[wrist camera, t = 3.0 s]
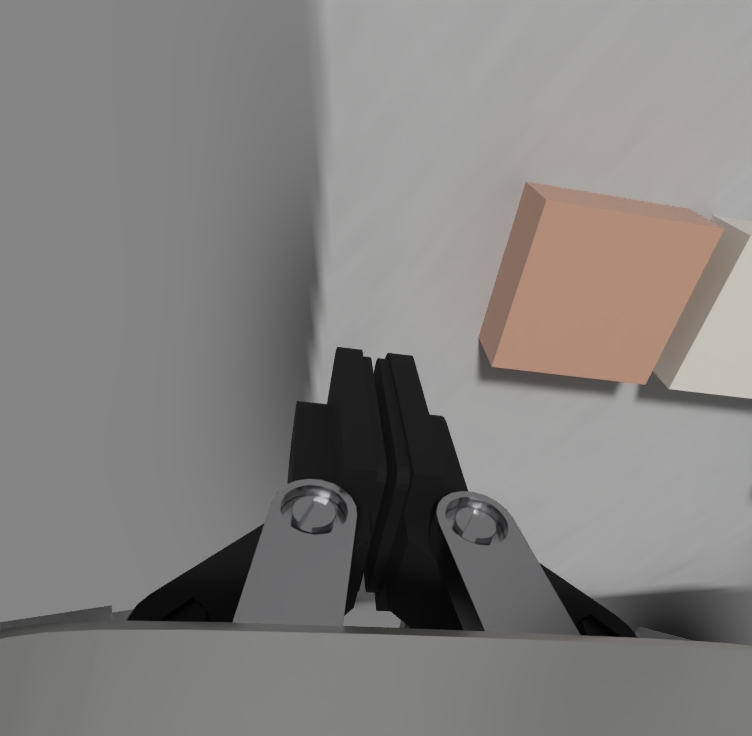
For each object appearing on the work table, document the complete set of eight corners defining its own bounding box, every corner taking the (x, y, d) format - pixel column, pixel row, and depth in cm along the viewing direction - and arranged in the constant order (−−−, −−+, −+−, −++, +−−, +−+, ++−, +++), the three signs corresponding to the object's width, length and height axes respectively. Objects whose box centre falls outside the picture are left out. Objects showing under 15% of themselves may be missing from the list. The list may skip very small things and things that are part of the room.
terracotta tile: (523, 179, 19) (546, 199, 17) (683, 205, 20) (724, 229, 18) (476, 332, 22) (491, 366, 20) (617, 350, 23) (645, 384, 21)
